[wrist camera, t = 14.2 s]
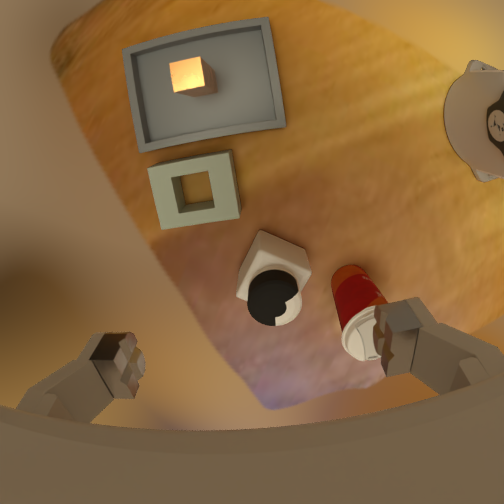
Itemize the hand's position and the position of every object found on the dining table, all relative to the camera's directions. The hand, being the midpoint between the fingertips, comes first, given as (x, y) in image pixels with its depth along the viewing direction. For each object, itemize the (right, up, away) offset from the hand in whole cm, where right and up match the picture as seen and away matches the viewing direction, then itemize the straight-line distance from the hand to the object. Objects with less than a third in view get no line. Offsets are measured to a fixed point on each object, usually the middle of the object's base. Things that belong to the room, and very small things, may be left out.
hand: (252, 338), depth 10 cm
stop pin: (-6, +23, +25) cm, 35 cm away
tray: (-6, +24, +26) cm, 36 cm away
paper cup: (+14, -1, +37) cm, 39 cm away
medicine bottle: (+3, +2, +36) cm, 36 cm away
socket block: (-7, +11, +31) cm, 34 cm away
